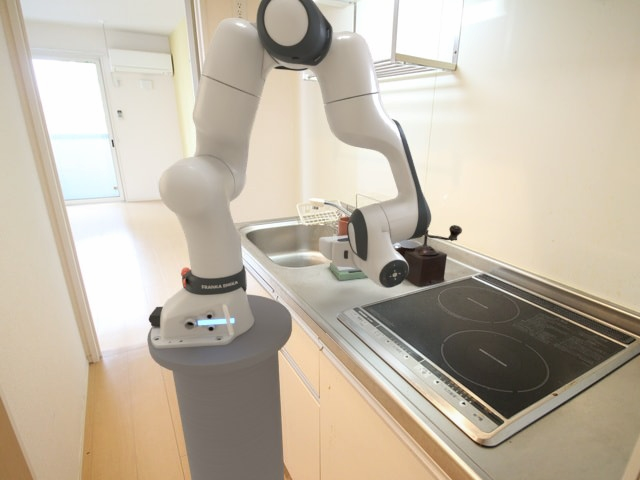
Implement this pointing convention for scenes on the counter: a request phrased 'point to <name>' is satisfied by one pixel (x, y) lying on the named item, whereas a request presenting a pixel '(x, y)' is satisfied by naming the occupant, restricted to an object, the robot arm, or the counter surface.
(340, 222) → the tumbler
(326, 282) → the counter surface
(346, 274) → the scale
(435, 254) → the manual coffee grinder
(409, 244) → the coffee mug
